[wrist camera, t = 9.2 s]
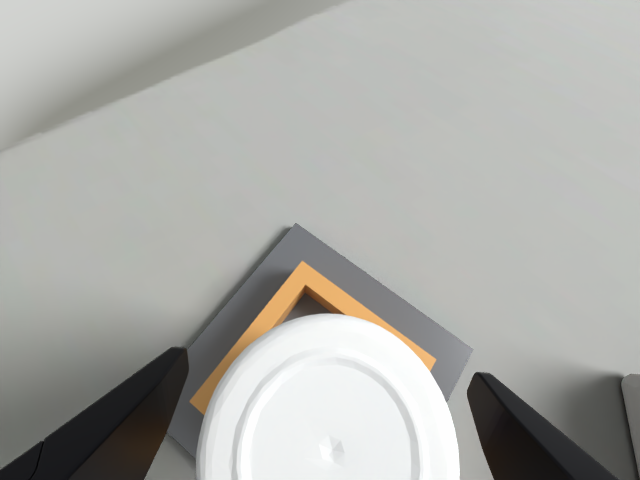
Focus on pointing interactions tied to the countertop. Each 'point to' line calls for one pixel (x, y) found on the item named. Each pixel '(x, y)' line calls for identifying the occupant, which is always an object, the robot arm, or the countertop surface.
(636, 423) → the electrical switch
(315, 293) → the socket
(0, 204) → the countertop surface
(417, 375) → the sprinkles bottle
